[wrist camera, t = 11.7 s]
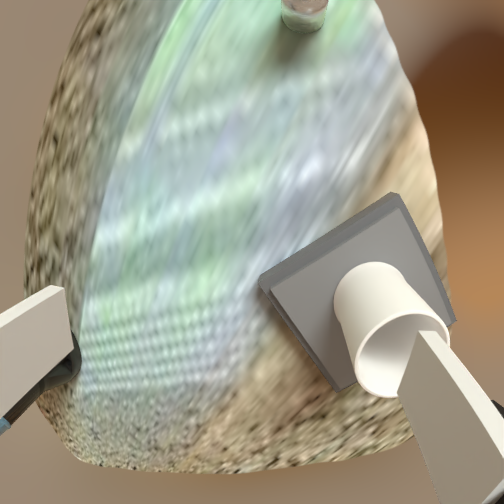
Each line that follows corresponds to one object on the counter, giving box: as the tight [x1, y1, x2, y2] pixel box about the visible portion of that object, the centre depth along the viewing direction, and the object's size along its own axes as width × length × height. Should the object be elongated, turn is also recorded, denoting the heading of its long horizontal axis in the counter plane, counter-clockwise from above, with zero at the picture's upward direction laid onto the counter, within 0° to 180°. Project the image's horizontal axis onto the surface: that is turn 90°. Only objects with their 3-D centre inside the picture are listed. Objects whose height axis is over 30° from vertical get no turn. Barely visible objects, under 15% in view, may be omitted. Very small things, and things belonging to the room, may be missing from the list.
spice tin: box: [281, 0, 328, 33], centre depth 26 cm, size 5×5×7 cm
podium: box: [258, 192, 457, 393], centre depth 35 cm, size 18×18×4 cm
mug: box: [334, 262, 450, 398], centre depth 27 cm, size 12×8×12 cm
